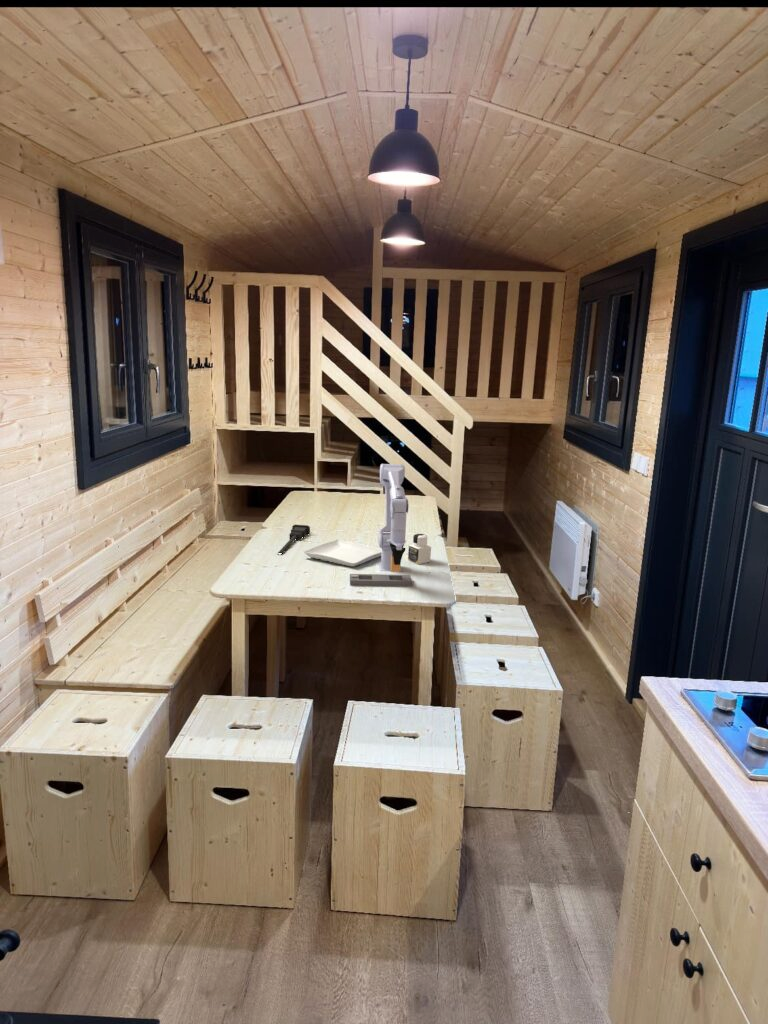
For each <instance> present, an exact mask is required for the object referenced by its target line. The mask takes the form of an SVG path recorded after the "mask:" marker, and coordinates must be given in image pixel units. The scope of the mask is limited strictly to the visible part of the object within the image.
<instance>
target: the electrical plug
mask: <svg viewBox="0 0 768 1024" xmlns="http://www.w3.org/2000/svg"><path fill="white" fill-rule="evenodd" d="M306 534H309V535H310V534H311V526H309V525H307V524H293V525H292V527H291V529H290V533H289V540H288V541H287V542H286V543H285V545H283V546H282V548H280V549H279V551H278V552H277V554H278V553H283V552H284V551H285V552H286V550H287V549H288V548H289V547H290V546H291V545H292V543H294V542H295V541H301V540H302V539H305V538H304V537H305V536H307V535H306ZM302 537H303V538H302ZM301 538H302V539H301ZM295 539H296V540H295ZM300 539H301V540H300ZM285 552H284V553H285ZM284 553H283V554H284Z"/></svg>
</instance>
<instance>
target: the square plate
mask: <svg viewBox="0 0 768 1024" xmlns="http://www.w3.org/2000/svg"><path fill="white" fill-rule="evenodd" d="M302 552H303V553H304V554H305V555H306V556H307V557H310V558H313V559H316V560H318V559H321V560H320V561H322V560H325V561H324V562H326V561H329V562H328V563H331V562H334V563H333V564H335V563H338V564H337V565H339V564H342V565H341V566H344V565H346V567H353V568H354V567H356V566H360V565H362V564H364V563H366V562H369V561H372V560H374V559H377V558H379V557H381V552H382V548H380V547H376V546H371V545H367V544H363V543H359V542H355V541H348V540H344V539H335V540H332V541H329V542H325V543H322V544H320V545H316V546H313V547H312V548H308V549H307V550H306V549H305V550H304V551H302ZM359 564H360V565H359Z"/></svg>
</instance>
